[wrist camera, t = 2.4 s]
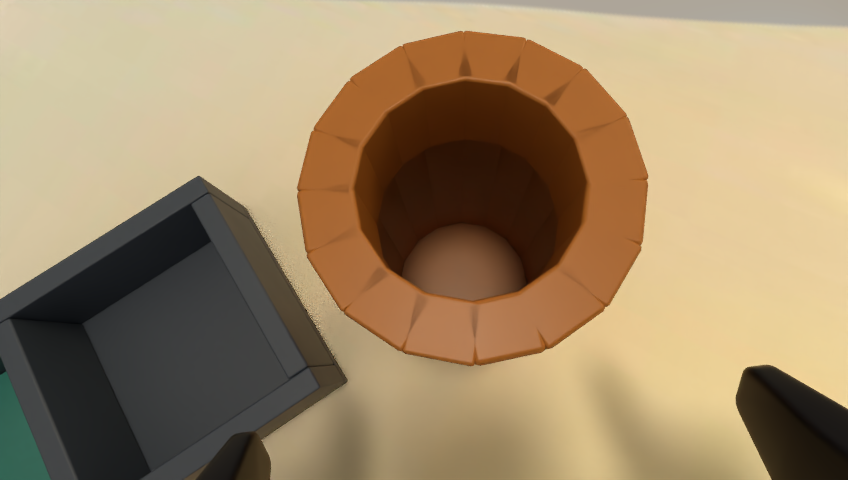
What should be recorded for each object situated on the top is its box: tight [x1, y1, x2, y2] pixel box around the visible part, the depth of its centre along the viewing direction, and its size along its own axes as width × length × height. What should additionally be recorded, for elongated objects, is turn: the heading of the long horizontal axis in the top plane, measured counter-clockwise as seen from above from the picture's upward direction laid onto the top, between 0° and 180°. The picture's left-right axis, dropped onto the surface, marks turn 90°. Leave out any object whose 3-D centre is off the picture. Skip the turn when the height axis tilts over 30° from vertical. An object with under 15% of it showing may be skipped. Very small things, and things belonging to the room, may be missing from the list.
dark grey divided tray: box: [0, 176, 347, 480], centre depth 18 cm, size 9×17×4 cm, turn 123°
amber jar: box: [297, 31, 648, 366], centre depth 14 cm, size 6×6×12 cm
